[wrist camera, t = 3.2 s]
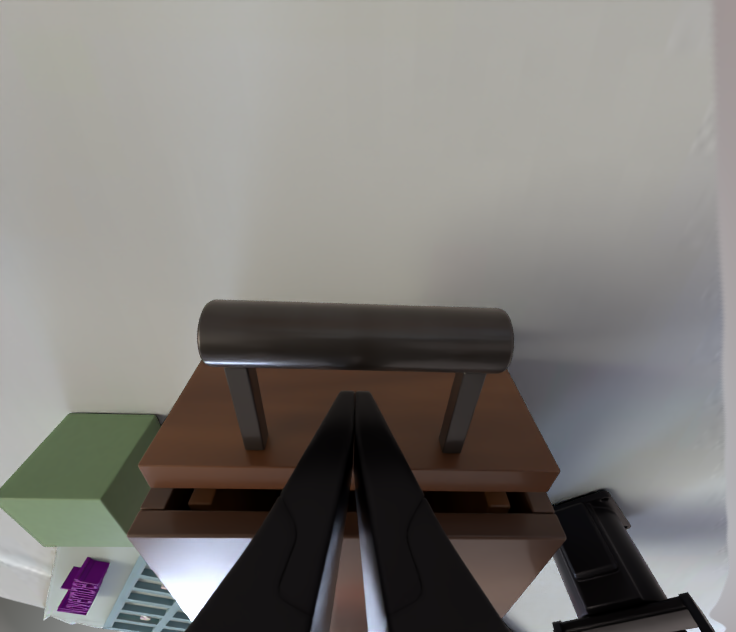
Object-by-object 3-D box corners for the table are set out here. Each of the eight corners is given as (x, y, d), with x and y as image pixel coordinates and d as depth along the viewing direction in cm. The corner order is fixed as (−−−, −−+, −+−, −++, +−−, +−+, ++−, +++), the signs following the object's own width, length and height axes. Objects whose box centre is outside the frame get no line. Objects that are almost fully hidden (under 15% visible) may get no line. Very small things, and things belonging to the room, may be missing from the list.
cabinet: (223, 351, 17) (124, 536, 10) (485, 357, 18) (568, 539, 10) (261, 500, 25) (221, 661, 18) (439, 502, 26) (469, 660, 19)
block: (178, 463, 22) (137, 547, 18) (102, 462, 22) (42, 547, 18) (156, 414, 20) (100, 500, 16) (68, 412, 20) (-11, 498, 15)
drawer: (194, 217, 12) (52, 321, 7) (521, 230, 13) (646, 338, 7) (260, 488, 23) (226, 620, 17) (441, 490, 23) (467, 619, 17)
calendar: (280, 645, 47) (277, 670, 45) (47, 613, 38) (29, 642, 36) (387, 576, 34) (389, 607, 32) (73, 504, 25) (47, 540, 23)
